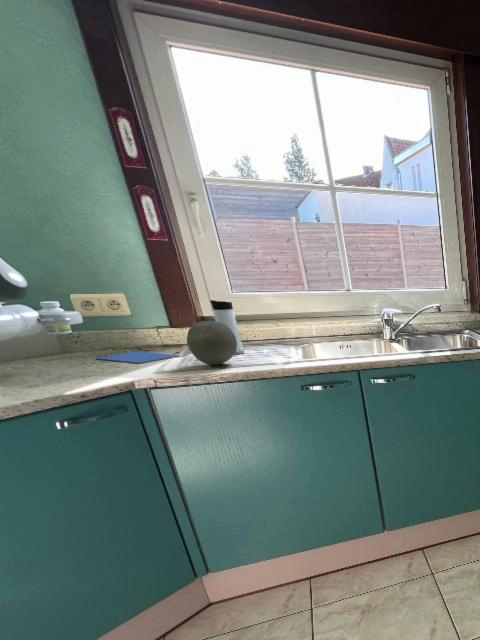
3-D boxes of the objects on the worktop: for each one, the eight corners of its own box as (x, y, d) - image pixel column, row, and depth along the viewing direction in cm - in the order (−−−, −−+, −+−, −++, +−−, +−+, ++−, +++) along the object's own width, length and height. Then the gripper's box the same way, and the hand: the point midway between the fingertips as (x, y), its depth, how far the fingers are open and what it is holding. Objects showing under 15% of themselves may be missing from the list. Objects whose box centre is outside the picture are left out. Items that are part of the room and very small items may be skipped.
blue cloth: (96, 359, 173) (95, 358, 173) (139, 352, 186) (139, 351, 186) (139, 363, 169) (138, 362, 169) (180, 356, 182) (180, 355, 182)
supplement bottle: (46, 334, 153) (34, 302, 149) (50, 332, 157) (38, 301, 153) (70, 333, 156) (59, 302, 152) (74, 331, 160) (62, 301, 156)
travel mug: (219, 354, 187) (205, 300, 180) (236, 351, 193) (223, 298, 185) (230, 355, 185) (216, 301, 178) (247, 353, 191) (235, 299, 183)
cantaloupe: (182, 368, 165) (168, 322, 159) (217, 359, 178) (206, 317, 172) (220, 370, 164) (208, 324, 158) (252, 362, 177) (242, 319, 171)
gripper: (58, 309, 144) (91, 305, 156) (-29, 309, 139) (12, 304, 152) (66, 331, 146) (98, 325, 159) (-20, 331, 142) (20, 325, 154)
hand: (55, 315), depth 155 cm, fingers closed on supplement bottle, 5 cm apart
